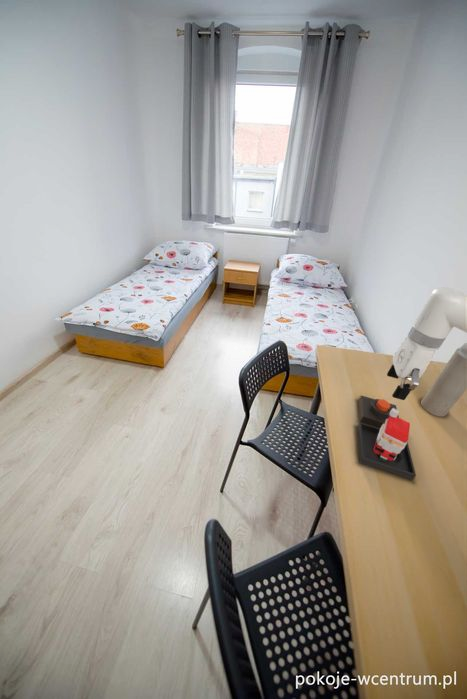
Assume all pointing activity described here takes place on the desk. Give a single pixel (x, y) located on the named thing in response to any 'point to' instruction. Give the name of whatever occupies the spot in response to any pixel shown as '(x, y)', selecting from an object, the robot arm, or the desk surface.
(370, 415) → the console
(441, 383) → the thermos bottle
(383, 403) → the button
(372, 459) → the tray
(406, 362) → the robot arm
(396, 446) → the figurine
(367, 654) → the desk surface
